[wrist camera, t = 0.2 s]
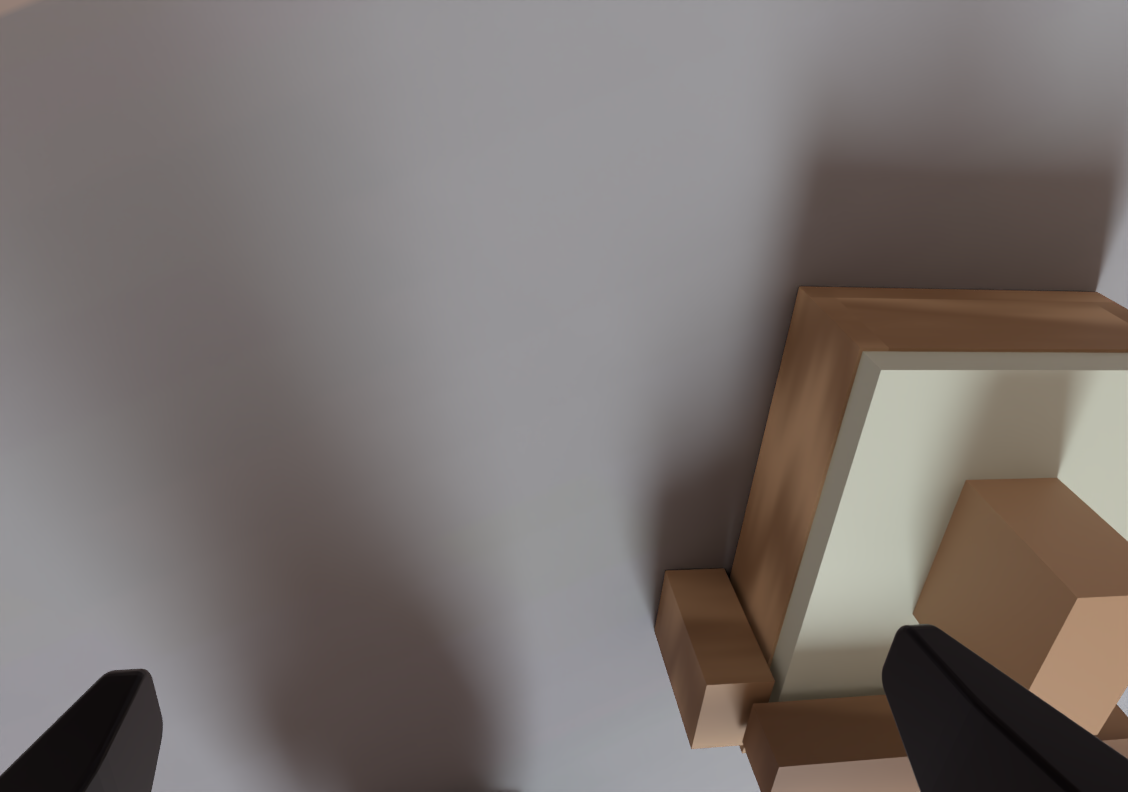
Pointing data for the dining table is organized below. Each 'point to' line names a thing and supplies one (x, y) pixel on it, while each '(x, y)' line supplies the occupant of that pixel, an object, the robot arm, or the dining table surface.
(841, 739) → the brown wooden bar
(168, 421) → the dining table surface
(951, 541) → the lid
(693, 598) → the brown shallow open box
